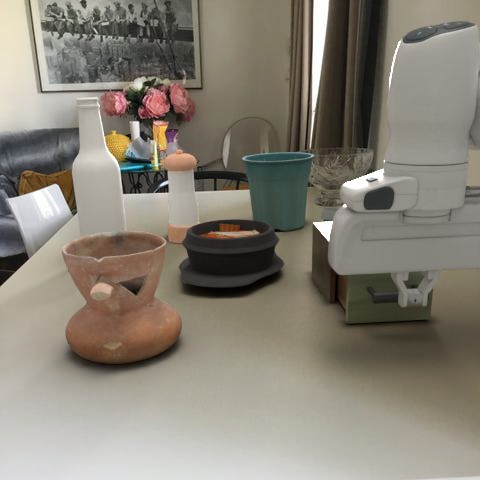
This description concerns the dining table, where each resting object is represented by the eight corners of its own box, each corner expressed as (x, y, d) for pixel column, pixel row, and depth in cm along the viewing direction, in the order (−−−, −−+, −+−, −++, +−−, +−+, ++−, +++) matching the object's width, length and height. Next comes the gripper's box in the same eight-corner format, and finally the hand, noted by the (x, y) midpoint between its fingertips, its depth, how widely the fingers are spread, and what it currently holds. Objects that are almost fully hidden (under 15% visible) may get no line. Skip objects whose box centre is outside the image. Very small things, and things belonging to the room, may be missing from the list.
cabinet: (411, 302, 85) (417, 240, 82) (329, 307, 85) (331, 244, 81) (383, 273, 99) (386, 219, 95) (311, 277, 98) (312, 222, 95)
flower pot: (247, 235, 127) (245, 161, 121) (241, 220, 142) (239, 153, 136) (319, 232, 128) (321, 158, 122) (306, 217, 143) (306, 150, 137)
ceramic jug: (172, 380, 65) (162, 261, 59) (48, 381, 66) (27, 263, 60) (192, 320, 81) (185, 223, 76) (93, 321, 82) (79, 225, 77)
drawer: (442, 331, 73) (449, 274, 70) (355, 336, 72) (358, 278, 70) (398, 287, 89) (402, 238, 86) (326, 290, 89) (328, 242, 86)
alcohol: (93, 254, 116) (72, 97, 105) (135, 254, 115) (118, 96, 104) (77, 266, 108) (53, 98, 97) (122, 266, 107) (103, 97, 96)
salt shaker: (167, 236, 128) (160, 148, 121) (199, 234, 129) (194, 147, 122) (169, 244, 122) (162, 152, 114) (203, 242, 123) (198, 150, 115)
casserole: (203, 253, 114) (201, 211, 111) (295, 257, 110) (295, 214, 107) (156, 294, 92) (151, 244, 89) (268, 302, 88) (267, 249, 84)
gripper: (501, 179, 66) (484, 292, 71) (326, 186, 65) (323, 300, 70) (530, 188, 60) (510, 310, 65) (339, 196, 59) (334, 319, 64)
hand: (412, 305), depth 67 cm, fingers closed
